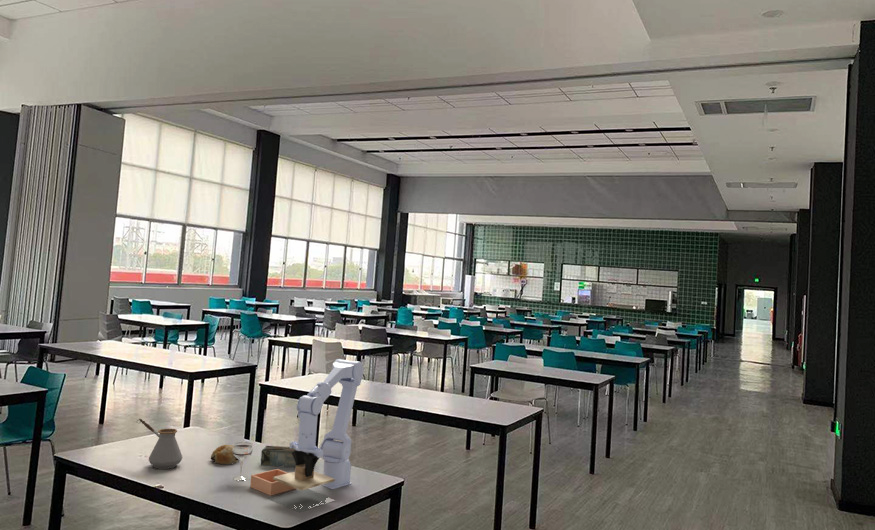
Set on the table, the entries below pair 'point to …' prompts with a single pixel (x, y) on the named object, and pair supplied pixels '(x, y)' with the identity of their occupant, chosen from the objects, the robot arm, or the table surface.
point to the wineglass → (242, 455)
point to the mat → (300, 499)
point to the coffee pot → (164, 449)
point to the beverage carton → (277, 456)
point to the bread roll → (224, 455)
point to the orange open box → (269, 482)
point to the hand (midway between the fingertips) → (304, 474)
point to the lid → (303, 478)
